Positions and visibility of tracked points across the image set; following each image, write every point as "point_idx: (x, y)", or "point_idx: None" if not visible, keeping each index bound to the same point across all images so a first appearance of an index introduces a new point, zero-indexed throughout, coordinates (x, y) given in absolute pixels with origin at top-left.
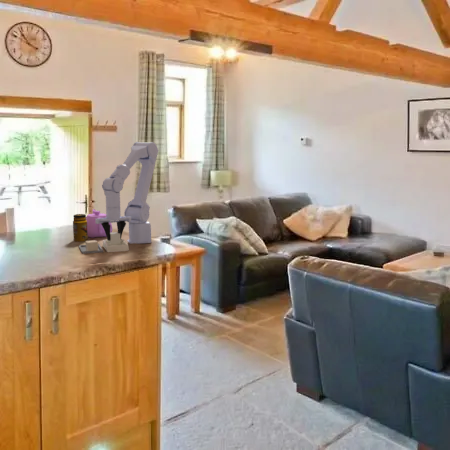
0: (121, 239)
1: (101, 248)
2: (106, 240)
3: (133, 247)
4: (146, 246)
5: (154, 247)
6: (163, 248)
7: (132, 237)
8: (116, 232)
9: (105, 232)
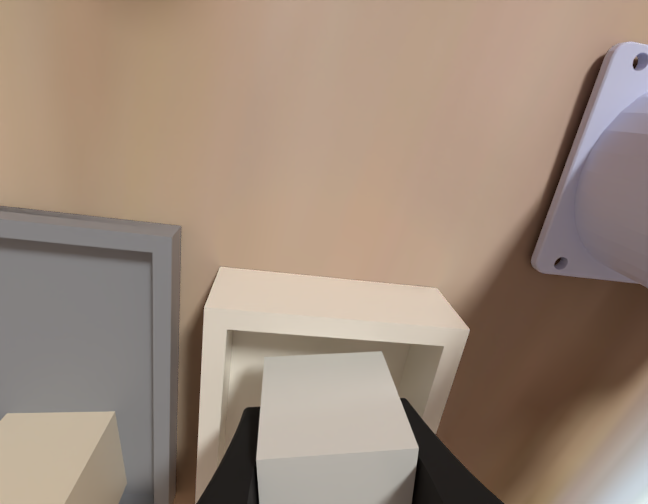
0: (442, 348)
1: (162, 454)
2: (252, 329)
3: (484, 388)
4: (594, 392)
5: (617, 444)
6: (643, 489)
7: (626, 261)
8: (391, 478)
9: (206, 493)
